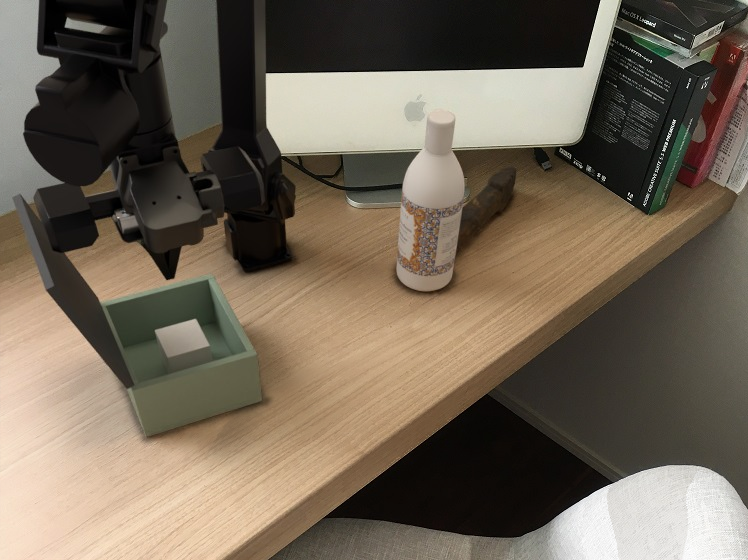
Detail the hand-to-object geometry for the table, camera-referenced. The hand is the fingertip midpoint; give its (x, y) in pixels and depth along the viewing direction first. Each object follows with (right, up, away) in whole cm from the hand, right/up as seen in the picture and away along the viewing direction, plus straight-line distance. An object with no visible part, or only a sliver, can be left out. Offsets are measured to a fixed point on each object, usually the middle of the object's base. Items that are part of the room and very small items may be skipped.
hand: (169, 277), depth 75 cm
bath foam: (+26, +7, +22) cm, 35 cm away
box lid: (-7, -2, -3) cm, 8 cm away
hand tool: (+32, +15, +29) cm, 46 cm away
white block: (-1, -7, +10) cm, 12 cm away
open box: (-1, -8, +10) cm, 13 cm away
